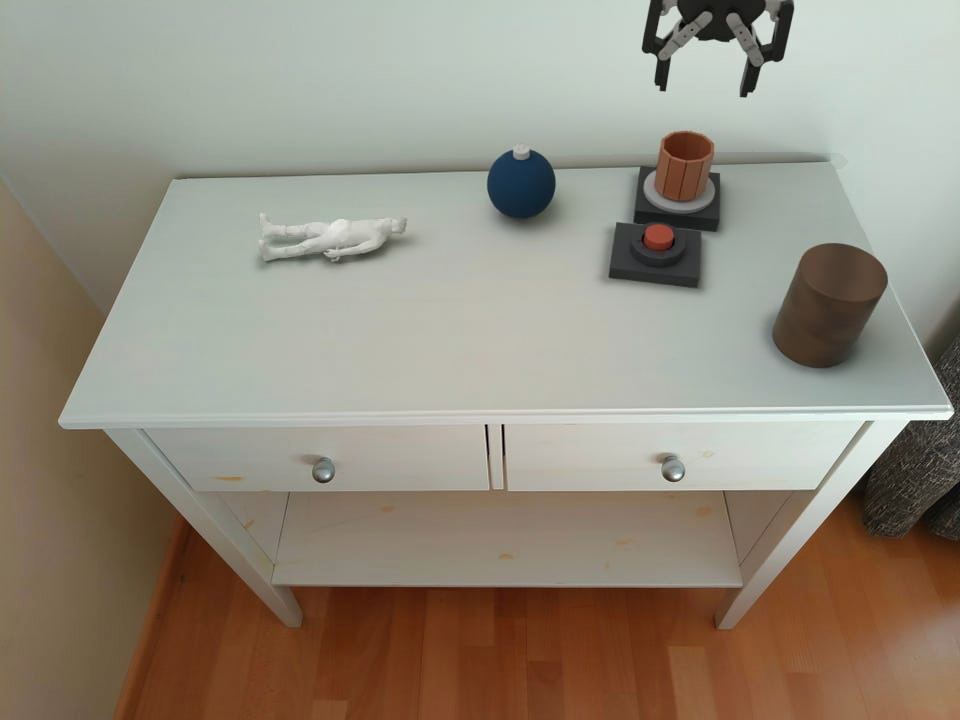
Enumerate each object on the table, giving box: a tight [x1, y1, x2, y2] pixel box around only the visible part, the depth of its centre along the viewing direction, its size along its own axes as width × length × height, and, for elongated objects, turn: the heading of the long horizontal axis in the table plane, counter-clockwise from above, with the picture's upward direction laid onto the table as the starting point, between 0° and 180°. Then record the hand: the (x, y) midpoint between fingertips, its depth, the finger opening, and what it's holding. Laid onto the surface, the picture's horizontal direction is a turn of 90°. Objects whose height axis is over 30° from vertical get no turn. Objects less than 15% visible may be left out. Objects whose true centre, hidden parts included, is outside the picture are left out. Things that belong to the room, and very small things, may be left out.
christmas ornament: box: [486, 143, 557, 220], centre depth 89 cm, size 8×8×10 cm
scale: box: [632, 165, 721, 232], centre depth 92 cm, size 10×9×3 cm
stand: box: [771, 242, 889, 369], centre depth 74 cm, size 8×8×10 cm
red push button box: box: [608, 221, 702, 289], centre depth 85 cm, size 10×8×3 cm
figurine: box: [257, 212, 409, 263], centre depth 89 cm, size 7×4×18 cm
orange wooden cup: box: [654, 130, 715, 201], centre depth 88 cm, size 6×6×6 cm
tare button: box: [644, 224, 674, 251], centre depth 84 cm, size 3×3×1 cm
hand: (702, 90), depth 80 cm, fingers open, 8 cm apart
